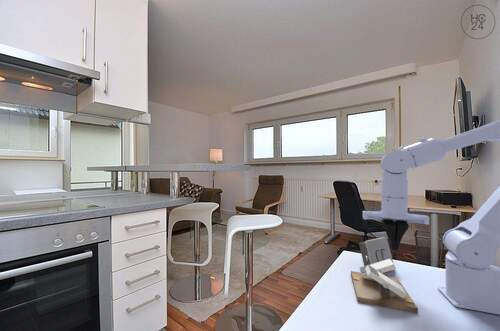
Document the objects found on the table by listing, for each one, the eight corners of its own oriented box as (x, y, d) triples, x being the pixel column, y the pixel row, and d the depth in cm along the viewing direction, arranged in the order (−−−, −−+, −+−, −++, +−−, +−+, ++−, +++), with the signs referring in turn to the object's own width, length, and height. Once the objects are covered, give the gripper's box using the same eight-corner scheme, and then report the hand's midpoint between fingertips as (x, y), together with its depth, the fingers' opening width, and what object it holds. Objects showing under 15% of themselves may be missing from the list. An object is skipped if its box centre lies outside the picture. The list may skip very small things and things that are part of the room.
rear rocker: (392, 264, 57) (389, 258, 57) (396, 270, 53) (393, 263, 54) (362, 273, 59) (359, 267, 59) (364, 279, 56) (361, 273, 56)
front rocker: (397, 291, 51) (401, 285, 50) (403, 299, 47) (407, 293, 47) (364, 269, 53) (368, 264, 53) (367, 276, 50) (371, 270, 49)
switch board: (397, 282, 58) (397, 270, 58) (417, 313, 45) (417, 298, 45) (350, 274, 62) (350, 263, 62) (357, 301, 49) (357, 287, 49)
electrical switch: (375, 276, 61) (372, 242, 62) (359, 270, 65) (356, 238, 66) (395, 270, 65) (392, 238, 66) (378, 264, 69) (376, 235, 70)
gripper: (421, 196, 58) (420, 247, 58) (361, 193, 63) (360, 240, 63) (433, 200, 51) (433, 257, 51) (365, 196, 56) (364, 249, 56)
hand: (393, 248), depth 56 cm, fingers closed
